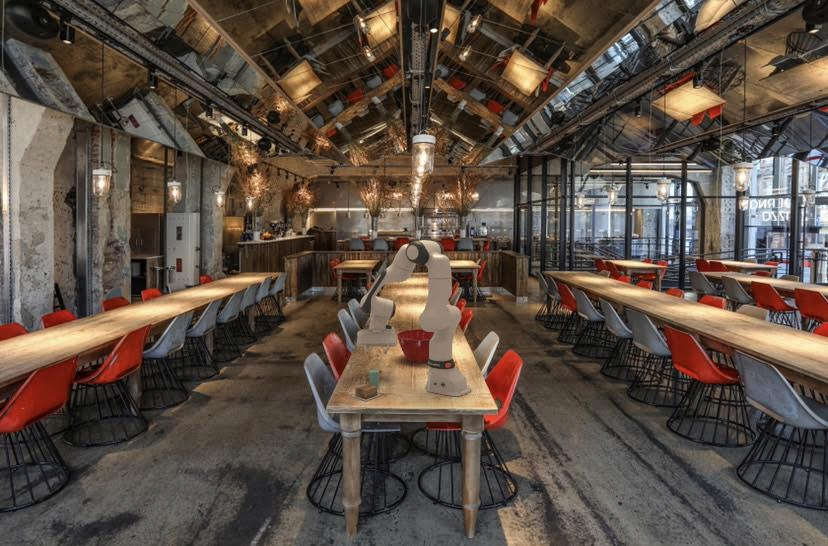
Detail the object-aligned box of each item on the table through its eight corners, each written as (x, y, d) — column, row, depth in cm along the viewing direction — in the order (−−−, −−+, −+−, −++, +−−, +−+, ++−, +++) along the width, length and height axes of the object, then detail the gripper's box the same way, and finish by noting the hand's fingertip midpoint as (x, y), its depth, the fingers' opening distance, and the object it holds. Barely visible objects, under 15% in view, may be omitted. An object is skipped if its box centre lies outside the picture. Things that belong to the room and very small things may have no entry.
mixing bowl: (396, 367, 274) (396, 339, 272) (397, 353, 302) (397, 328, 301) (447, 366, 274) (448, 339, 273) (444, 353, 303) (444, 328, 301)
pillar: (378, 386, 242) (378, 369, 241) (378, 388, 238) (377, 372, 237) (370, 386, 242) (370, 369, 241) (369, 388, 238) (369, 372, 237)
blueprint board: (385, 395, 228) (385, 394, 228) (365, 402, 219) (365, 401, 219) (366, 389, 236) (366, 389, 236) (347, 396, 227) (347, 395, 227)
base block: (377, 395, 228) (377, 386, 228) (366, 399, 223) (366, 390, 222) (366, 391, 233) (366, 383, 232) (355, 395, 227) (355, 387, 227)
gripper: (357, 326, 256) (354, 349, 247) (396, 326, 256) (395, 350, 247) (358, 333, 261) (356, 356, 252) (397, 333, 261) (396, 356, 252)
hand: (376, 353), depth 250 cm, fingers open, 8 cm apart
